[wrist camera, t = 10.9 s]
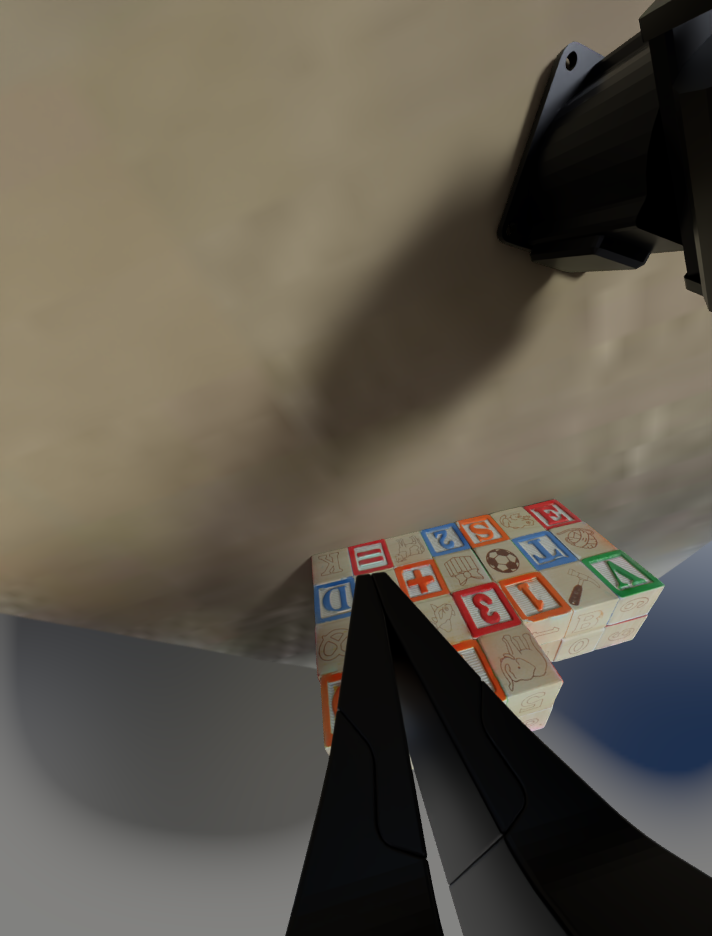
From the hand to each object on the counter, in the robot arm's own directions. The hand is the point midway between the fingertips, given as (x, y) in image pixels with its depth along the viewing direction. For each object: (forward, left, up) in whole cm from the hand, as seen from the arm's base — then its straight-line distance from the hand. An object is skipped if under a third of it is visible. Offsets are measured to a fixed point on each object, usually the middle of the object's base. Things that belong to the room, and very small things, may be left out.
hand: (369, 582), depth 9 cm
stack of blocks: (+11, +11, -12) cm, 20 cm away
